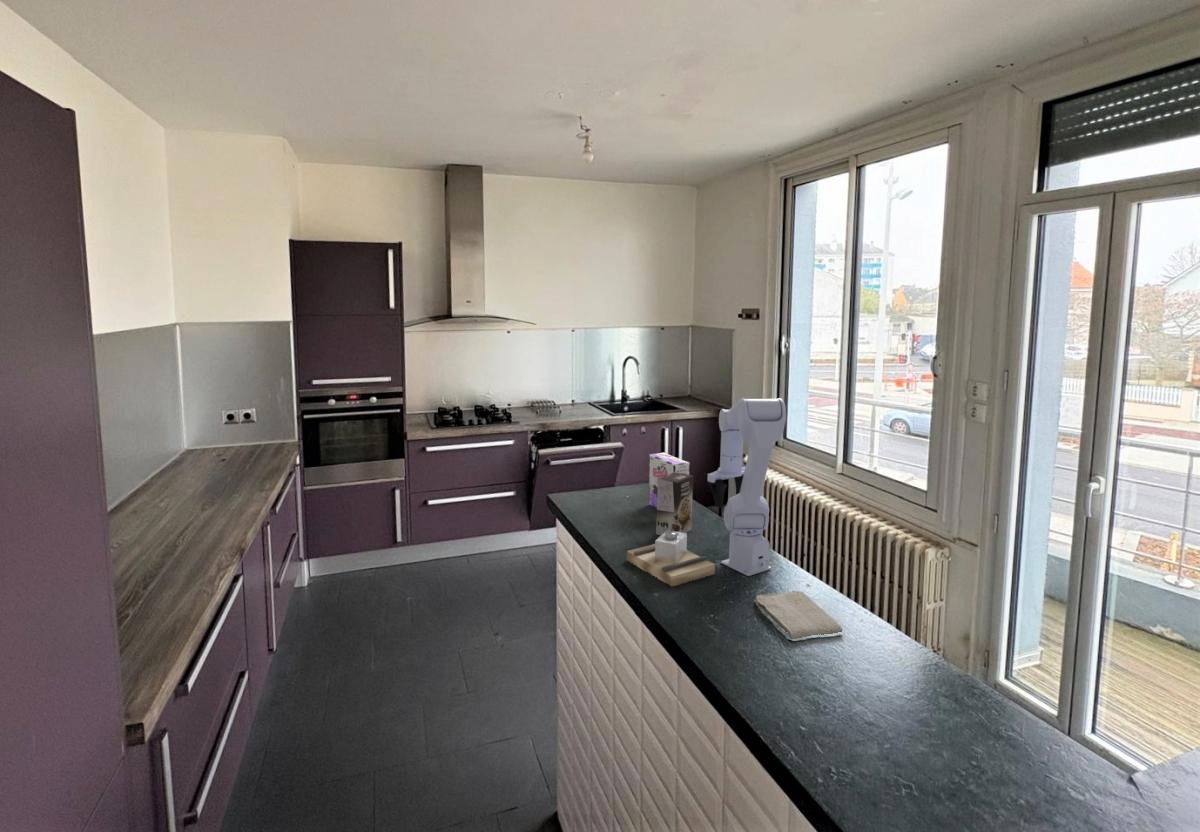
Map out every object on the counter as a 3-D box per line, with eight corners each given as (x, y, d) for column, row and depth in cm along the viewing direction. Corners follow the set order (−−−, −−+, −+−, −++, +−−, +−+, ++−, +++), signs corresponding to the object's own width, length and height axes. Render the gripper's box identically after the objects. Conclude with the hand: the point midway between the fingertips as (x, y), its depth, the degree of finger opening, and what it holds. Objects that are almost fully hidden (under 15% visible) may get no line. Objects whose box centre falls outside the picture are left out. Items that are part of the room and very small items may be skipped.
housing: (675, 564, 164) (675, 540, 163) (654, 560, 166) (655, 536, 165) (686, 552, 171) (687, 529, 170) (666, 549, 173) (667, 526, 172)
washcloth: (799, 599, 153) (799, 585, 152) (845, 638, 136) (846, 624, 135) (749, 604, 150) (750, 591, 150) (790, 646, 133) (791, 631, 133)
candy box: (647, 504, 216) (648, 453, 213) (663, 502, 219) (664, 451, 216) (672, 518, 204) (673, 464, 201) (688, 515, 207) (690, 461, 204)
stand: (714, 574, 165) (715, 561, 164) (672, 586, 158) (672, 573, 157) (667, 549, 180) (667, 537, 179) (626, 560, 173) (626, 547, 172)
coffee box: (675, 539, 187) (677, 482, 183) (655, 534, 190) (656, 478, 187) (692, 530, 194) (694, 474, 191) (672, 525, 198) (674, 471, 194)
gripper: (740, 448, 188) (738, 495, 191) (700, 455, 180) (698, 504, 183) (759, 453, 182) (757, 502, 185) (718, 460, 175) (716, 512, 177)
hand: (729, 504), depth 184 cm, fingers open, 7 cm apart
